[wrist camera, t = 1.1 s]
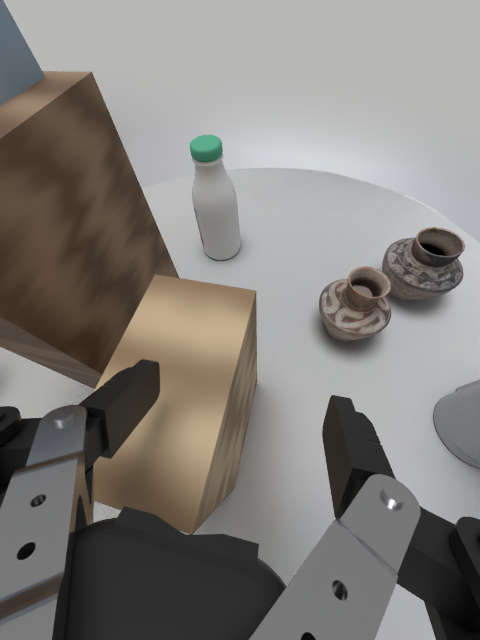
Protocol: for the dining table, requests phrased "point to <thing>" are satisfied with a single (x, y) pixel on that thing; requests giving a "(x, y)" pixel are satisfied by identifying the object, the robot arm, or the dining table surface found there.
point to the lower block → (185, 401)
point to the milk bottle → (214, 199)
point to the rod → (15, 59)
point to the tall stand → (70, 229)
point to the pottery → (392, 283)
